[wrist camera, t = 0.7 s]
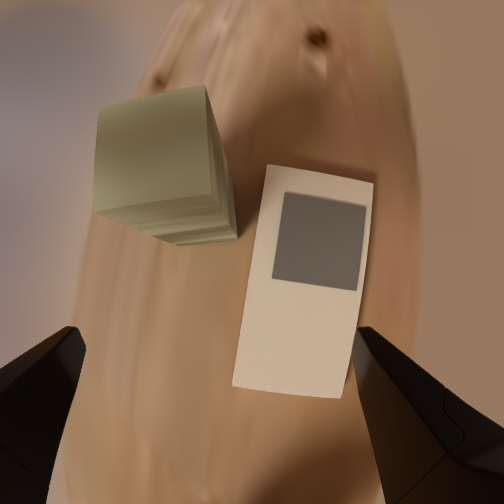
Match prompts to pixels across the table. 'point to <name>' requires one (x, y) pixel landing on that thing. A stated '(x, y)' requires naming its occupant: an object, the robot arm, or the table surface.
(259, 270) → the baseplate
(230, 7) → the table surface
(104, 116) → the post
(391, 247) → the table surface
